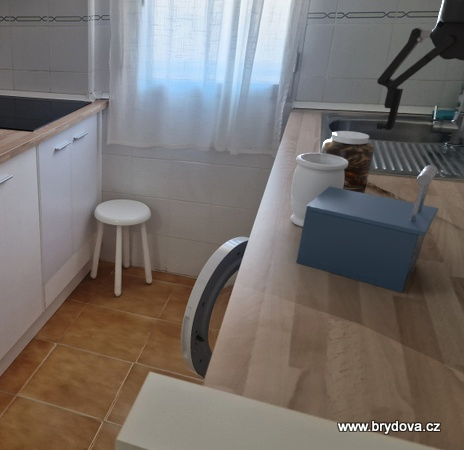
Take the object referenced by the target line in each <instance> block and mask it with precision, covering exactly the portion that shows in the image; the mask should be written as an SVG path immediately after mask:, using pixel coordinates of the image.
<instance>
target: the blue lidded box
mask: <svg viewBox="0 0 464 450" xmlns="http://www.w3.org/2000/svg"><path fill="white" fill-rule="evenodd" d="M300 235H301V236H300V240H299V245H298V251H297V257H296V262H295V263H296V264H299V265H303V266H306V267H310V268H314V269H317V270H320V271H325V272H328V273H331V274H334V275H337V276H341V277H345V278H347V279H352V280H356V281H359V282H363V283H366V284H370V285H372V286H376V287H380V288H383V289H386V290H390V291H394V292H397V293H401V294H402V293H403V292H404V290H405V287H406V286H407V284H408V282H409V280H410V277H411V275H412V274H413V272H414V270H415V267H416V266H417V264H418V260H419V256H420V254H421V249H422V246H423V242H424V239H425V236H421V235H416V234H412V233H407V232H403V231H399V230H394V229H390V228H385V227H381V226H377V225H372V224H368V223H363V222H359V221H355V220H350V219H346V218H341V217H337V216H333V215H328V214H324V213H319V212H315V211H311V210H306V214H305V219H304V224H303V227H302V230H301V234H300Z"/></svg>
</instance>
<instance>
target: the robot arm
mask: <svg viewBox="0 0 464 450" xmlns="http://www.w3.org/2000/svg"><path fill="white" fill-rule="evenodd" d="M427 38H429V39H430V41H431V43H432V45H433V47H434V48H432V49H431V50H430V51H428V52H427V53H426V54H425V55H424V56H423V57H421V58H420V59H418V60H417V61H416V62H415V63H414V64H412V65H410V67H409V68H407V69H406V70H405V71H403V72H402V73H400V74H399V76H397V77H396V78H394V79H392V77H393V75H394V74H395V73H396V72H397V71H398V69H399V68H400V67H401V66H402V64H404V62H405V61H406V59H407V58H408V57H409V56H410V54H411V53H412V52H413V51H414V50H415V49H416V47H417V46H418V44H421V43H423V42H425V40H426V39H427ZM438 56H439V57H440V58H441V59H443V60H455V59H456V60H460V61H464V0H442V1H441V6H440V10H439V13H438V18H437V22H436V25H435V26H434V28H433V29H431V30H430V29H424V28H422V27H415V28H413V29H412V30H411V32H410V34H409V37H408V39H407V43H405V45H404V46H403V47H402V49H401V50H400V51H399V52H398V54H397V55H396V56H394V59H393V60H392V61H391V62H390V64H388V66H387V68H385V70H384V71H383V72H382V74H381V75H380V76H379V77H378V78H377V84H378V85H380V86H383V87H385V88H386V89H387V92H386V95H385V100H384V104H383V105H384V108H385V109H389V113H388V116H387V117H388V118H387V121H386V126H385V129H386V130H392V129H393V128H394V127H395V124H396V120H397V116H398V111H399V107H400V104H401V99H402V95H403V91H404V88H399V87H400V86H402V84H403V83H405V82H406V81H407V80H409V79H410V78H411V77H413V76H414V75H415V74H416V73H418V72H419V71H421V69H423V68H424V67H425V66H427V65H428V64H430V62H432V61H433V60H435V59H436V58H437V57H438Z"/></svg>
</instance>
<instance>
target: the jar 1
mask: <svg viewBox="0 0 464 450" xmlns="http://www.w3.org/2000/svg"><path fill="white" fill-rule="evenodd" d="M295 162H296V163H297V165H296V167H295V169H294V172H293V176H292V180H291V187H290V191H291V192H290V193H291V195H290V196H291V197H290V205H291V209H292V212H293V214H292V215H291V216H290V221H291V223H293V224H294V225H296V226H298V227H301V228H303V224H304V219H305V214H306V210H307V209H306V208H307V205H308V204H310V203H311V202H312V201H313V200H314V199H315V198H317V197H318V196H319V195H320V194H321V193H322V192H323V191H325V190H326V189H327V188H328V187H329V186H330V187H335V188H340V189H343V186H344V169H345V168H346V167H347V166H348V161H347V160H346V159H344V158H342V157H339V156H335V155H330V154H323V153H321V152H306V153H305V152H304V153H301V154H300V153H299V154H297V155H296V158H295Z"/></svg>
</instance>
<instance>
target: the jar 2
mask: <svg viewBox="0 0 464 450" xmlns="http://www.w3.org/2000/svg"><path fill="white" fill-rule="evenodd" d="M369 140H370V135H369V134H367V133H364V132H358V131H352V130H337V131H333V132H332V133H331V137H330V138H327V139H325V140H324V141H323V144H322V146H321V151H320V153H323V154H330V155H335V156H339V157H342V158H344V159H346V160H347V161H348V166H347V167H346V168H345V169H344V186H343V189H345V190H350V191H355V192H360V193H365V192H366V189H367V184H368V180H369V176H370V172H371V166H372V163H373V158H374V153H375V152H374V151H375V145H374V144H373V143H372V142H369ZM365 194H366V193H365Z"/></svg>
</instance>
